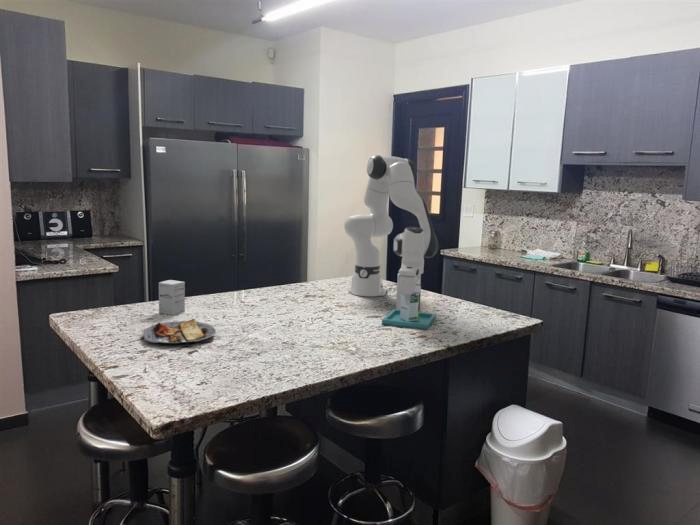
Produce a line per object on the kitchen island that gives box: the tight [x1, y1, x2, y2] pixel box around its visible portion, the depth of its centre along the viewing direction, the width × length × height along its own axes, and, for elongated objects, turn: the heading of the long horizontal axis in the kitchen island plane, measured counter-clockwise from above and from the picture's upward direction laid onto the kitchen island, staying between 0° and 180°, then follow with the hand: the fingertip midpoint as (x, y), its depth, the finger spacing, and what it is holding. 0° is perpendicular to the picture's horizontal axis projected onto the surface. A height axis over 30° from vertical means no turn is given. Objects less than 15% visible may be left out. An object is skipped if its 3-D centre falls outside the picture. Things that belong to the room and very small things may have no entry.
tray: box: [381, 308, 437, 331], centre depth 214 cm, size 18×18×2 cm
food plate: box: [142, 318, 217, 345], centre depth 185 cm, size 25×23×4 cm
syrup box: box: [400, 284, 422, 322], centre depth 213 cm, size 6×6×14 cm
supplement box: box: [158, 279, 186, 316], centre depth 214 cm, size 7×7×13 cm
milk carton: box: [395, 269, 402, 310], centre depth 234 cm, size 7×7×19 cm
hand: (410, 302), depth 213 cm, fingers closed on syrup box, 8 cm apart
